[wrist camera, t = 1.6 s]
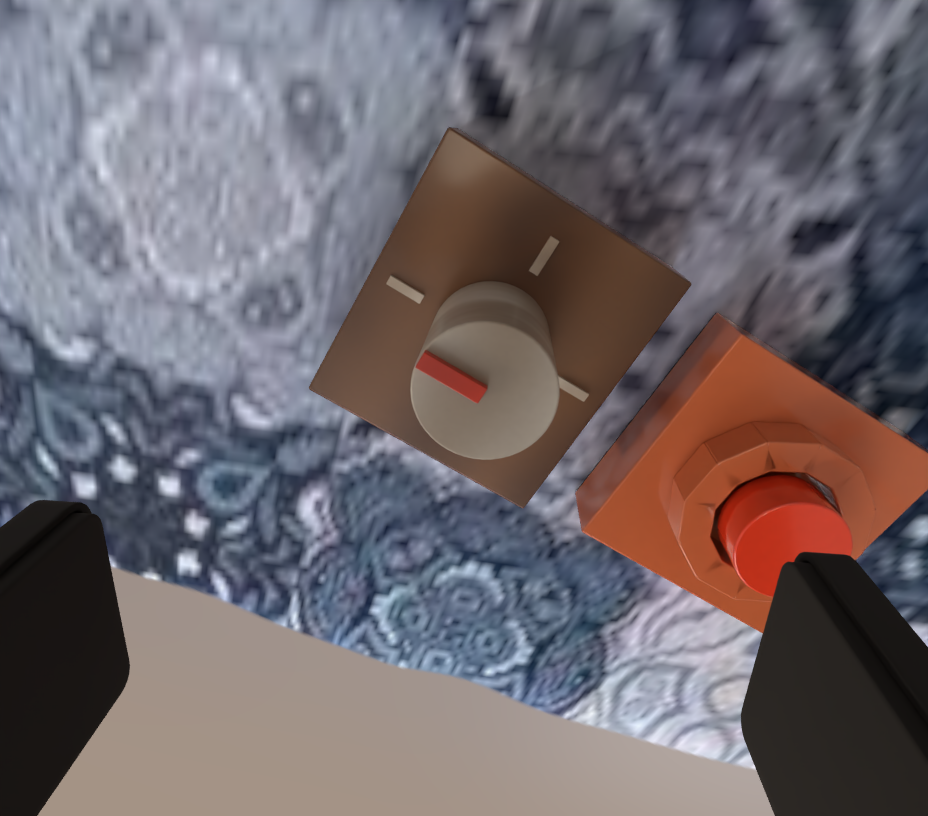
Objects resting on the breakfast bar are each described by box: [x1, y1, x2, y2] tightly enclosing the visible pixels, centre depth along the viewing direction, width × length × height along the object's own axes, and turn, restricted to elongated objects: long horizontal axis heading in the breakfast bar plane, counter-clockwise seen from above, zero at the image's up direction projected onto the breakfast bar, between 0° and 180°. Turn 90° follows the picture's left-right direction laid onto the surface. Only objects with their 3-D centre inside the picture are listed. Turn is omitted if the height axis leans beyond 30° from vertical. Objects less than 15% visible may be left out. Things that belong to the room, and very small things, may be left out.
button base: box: [575, 313, 928, 633], centre depth 27 cm, size 10×10×5 cm
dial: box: [410, 281, 560, 460], centre depth 22 cm, size 4×4×6 cm
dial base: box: [309, 127, 691, 508], centre depth 26 cm, size 10×11×3 cm
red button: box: [717, 475, 853, 597], centre depth 24 cm, size 4×4×2 cm
